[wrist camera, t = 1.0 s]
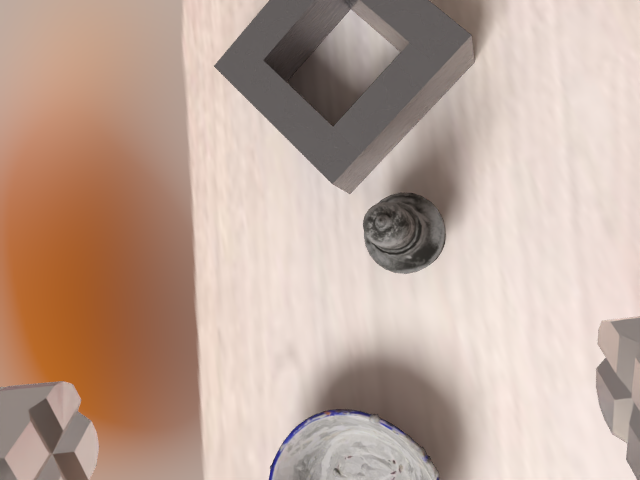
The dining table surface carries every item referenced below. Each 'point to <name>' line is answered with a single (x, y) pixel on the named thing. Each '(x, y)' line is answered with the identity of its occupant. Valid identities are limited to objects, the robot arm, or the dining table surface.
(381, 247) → the grey chess piece
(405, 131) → the square frame
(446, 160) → the dining table surface
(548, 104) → the dining table surface
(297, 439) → the bowl
